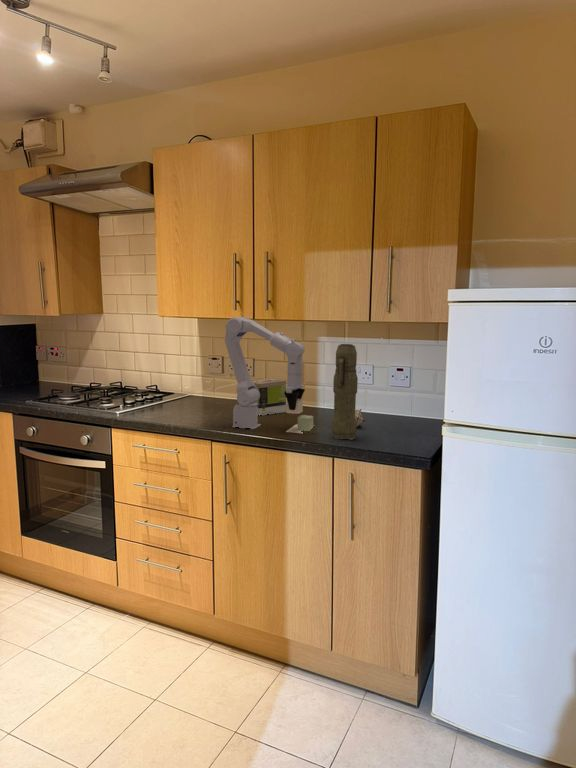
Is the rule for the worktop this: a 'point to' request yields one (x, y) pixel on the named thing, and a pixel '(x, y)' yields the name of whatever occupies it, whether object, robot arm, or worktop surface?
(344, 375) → the stone moai statue
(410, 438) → the worktop surface
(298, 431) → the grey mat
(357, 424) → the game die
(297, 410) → the cream brick
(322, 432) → the worktop surface
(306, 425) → the pale green cube
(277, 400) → the tea box
